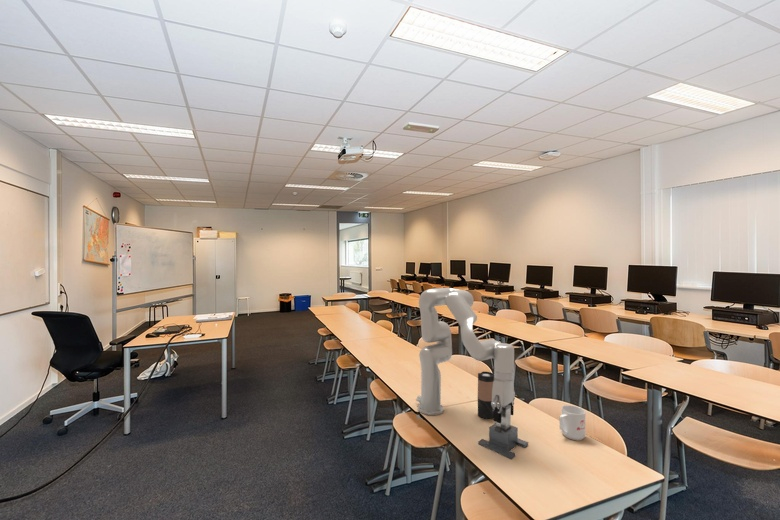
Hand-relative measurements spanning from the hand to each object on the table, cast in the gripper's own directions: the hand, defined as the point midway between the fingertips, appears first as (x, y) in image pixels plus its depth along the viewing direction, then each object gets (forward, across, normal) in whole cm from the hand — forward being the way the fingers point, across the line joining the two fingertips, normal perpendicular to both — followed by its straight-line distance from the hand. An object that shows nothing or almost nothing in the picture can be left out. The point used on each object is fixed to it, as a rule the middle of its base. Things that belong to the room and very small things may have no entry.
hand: (503, 417), depth 136 cm
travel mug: (+11, -17, -18) cm, 27 cm away
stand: (+11, 0, 0) cm, 11 cm away
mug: (+11, -27, +16) cm, 33 cm away
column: (+11, 0, 0) cm, 11 cm away
